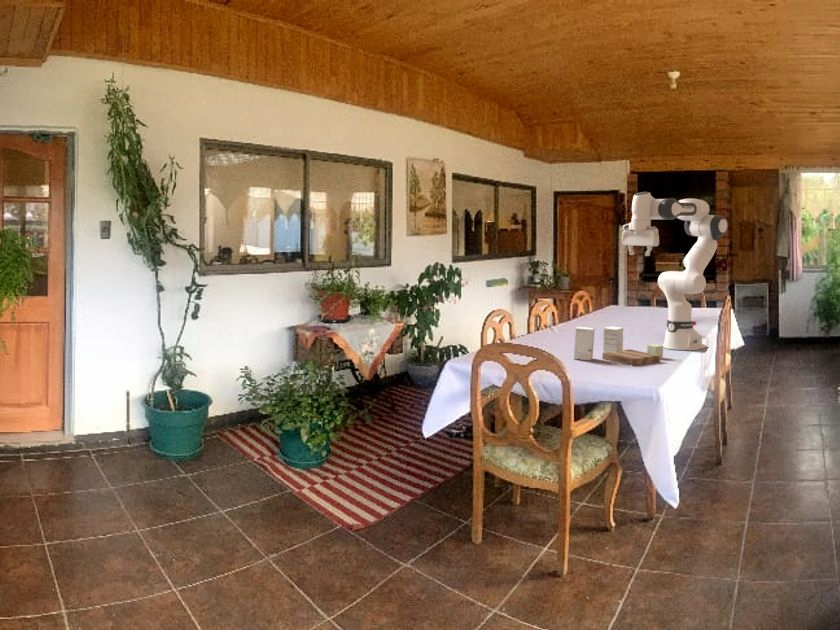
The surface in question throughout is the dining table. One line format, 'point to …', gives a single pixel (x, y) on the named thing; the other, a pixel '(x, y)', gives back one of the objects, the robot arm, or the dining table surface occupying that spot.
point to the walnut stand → (631, 357)
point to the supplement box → (613, 339)
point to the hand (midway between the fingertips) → (639, 255)
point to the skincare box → (584, 343)
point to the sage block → (655, 349)
